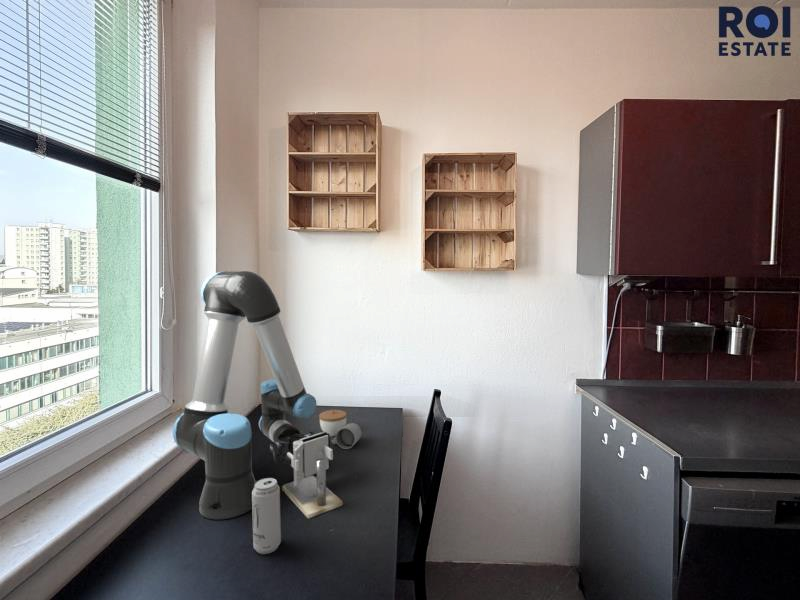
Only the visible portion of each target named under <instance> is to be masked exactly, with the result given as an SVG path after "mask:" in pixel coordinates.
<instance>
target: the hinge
mask: <svg viewBox="0 0 800 600" xmlns="http://www.w3.org/2000/svg"><path fill="white" fill-rule="evenodd" d="M314 434H315V435H312V436H308V437H305V438H302V439H300V440H298V441H295V442H293V449H292V451H293V452H292V453H293V454H292V455H293V461H294V468H293V482H294V486H298V484H299V483H300V482H301V481H302V480H303V478H306V477H309V476H314V475H315V474H316V460H317V459H319V458H324V459H325V465H326V470H328V469H329V468H330V467H331V460H330V459H329V458H327V457H326V456H325V455H324V446H325V445H326V446H330V447H331V439H330V438H331V436H330V434H327V432H325V433H324V432H323V431H322V432H318V433H314ZM297 459H298V460H299V470H298V471H296V470H295V460H297ZM316 475H317V474H316Z"/></svg>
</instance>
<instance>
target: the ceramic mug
mask: <svg viewBox="0 0 800 600" xmlns="http://www.w3.org/2000/svg"><path fill="white" fill-rule="evenodd" d="M361 437H362V430H361V427H360V425H359V424H357V423H354V422H349V423H346V425H345V426H344V427H342V428H341V429H339V430H338V432H337V434H336V436H334V438H332V439H330V442H331V444H332V445H336V444H337V446H338V447H340V448H341V449H344V450H350V449H351V448H353V447H354V446H355V445H356V443H358V441H359V440H360V438H361Z"/></svg>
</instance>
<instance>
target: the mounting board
mask: <svg viewBox="0 0 800 600" xmlns="http://www.w3.org/2000/svg"><path fill="white" fill-rule="evenodd" d="M313 476H314V475H313ZM314 477H315V478H316V479H317V476H314ZM326 488H327V489H328V490H329V491H330V492H331V493H332V495H330V496H327V497H326V505H325V506H318V505H317V500H316V501H313V502H310V503H308V504H305V505H301V504H300V503H299V502H298V501H297V500H296V498H295V497H294V496H293V495H292V494H291V493H290V492H289V491H288V490H287V489H286V488H285V487H284V485H281V490H282V492H284V493H285V495H286V496H287V497H288V498H289V499H290V500H291V501H292V502H293V504H294V505H295V506H296V507H297V508H298V509H299V511H300V512H302V514H303V515H304V516H305V517H306V518H307V519H311V518H314V517H316V516H319V515H322V514H324V513H327V512H329V511H331V510H334V509H337V508H340V507H341V506H343V505H344V503H343V500H342V499H341V498H339V496H337V495H336V494H335V493H333V491H332V490H330V489H329V488H328V487H327V486H326Z"/></svg>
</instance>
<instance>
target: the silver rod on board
mask: <svg viewBox="0 0 800 600" xmlns="http://www.w3.org/2000/svg"><path fill="white" fill-rule="evenodd" d="M326 470H327V469H326V465H325V459H324V458H319V459H317V460H316V476H315V477H316V478H317V479H316V478H315V477H314V475H311V476H308V477H304V478H303V480H302V481H301V482H300V483H299V484H298V486H294V481H291V482H288V483H284V484H283V486H284V487H285V488H286V489H287V490H288V491H289V492H290V493H291V494H292V495H293V496H294V497H295V498H296V500H297V501H298V502H299V503H300V504H301V505H305V504H308V503H310V502H313V501H316V500H317V505H318V506H325V505H326V497H327V496H330V495H332V493H333V492H332V491H331V490H330V489H329V488H328V487H327V484H326V483H327V482H326V481H327V476H326V474H327V473H326V472H327V471H326ZM326 487H327V488H328V489H329V490H330V491H331V492H332V493H331V492H330V491H329V490H328V489H327V488H326Z"/></svg>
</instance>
